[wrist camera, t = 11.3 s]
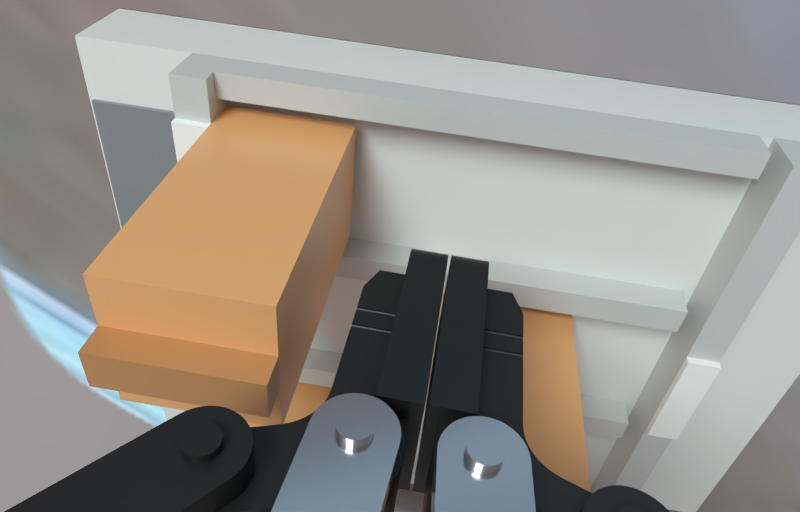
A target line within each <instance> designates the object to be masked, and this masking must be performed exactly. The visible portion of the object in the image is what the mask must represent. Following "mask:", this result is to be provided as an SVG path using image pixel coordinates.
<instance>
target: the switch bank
mask: <svg viewBox="0 0 800 512" xmlns="http://www.w3.org/2000/svg"><path fill="white" fill-rule="evenodd" d="M75 39H76V43H77V47H78V51H79V55H80V59H81V64H82V68H83V72H84V76H85V80H86V85H87V89H88V93H89V97H90V101H91V105H92V110H93V114H94V118H95V122H96V126H97V131H98V135H99V139H100V143H101V147H102V151H103V156H104V160H105V164H106V168H107V172H108V177H109V181H110V185H111V189H112V193H113V197H114V202H115V206H116V210H117V214H118V218H119V223H120V227H121V228H122V227H123V226H124V225H125V224H126V223H127V221H128V220H129V219H130V218H131V217H132V216H133V214H134V213H135V212H136V211H137V210H138V209H139V207H140V206H141V205H142V204H143V203H144V201H145V200H146V199H147V198H148V197H149V196H150V194H151V193H152V192H153V191H154V190H155V189H156V187H157V186H158V185H159V184H160V183H161V181H162V180H163V179H164V178H165V177H166V176H167V174H168V173H169V172H170V171H171V170H172V169H173V167H174V166H175V165H176V164H177V163H178V162H179V160H180V159H181V158H182V157H183V156H184V154H185V153H186V152H187V151H188V150H189V149H190V147H191V146H192V145H193V144H194V143H195V142H196V140H197V139H198V138H199V137H200V136H201V135H202V133H203V132H204V131H205V130H206V129H207V128H208V126H209V125H210V124H211V123H212V122H213V120H214V119H215V118H216V117H217V116H218V115H219V113H220V112H221V111H222V110H223V109H224V108H225V106H231V107H237V108H244V109H251V110H257V111H264V112H271V113H277V114H284V115H291V116H297V117H304V118H311V119H317V120H324V121H330V122H337V123H344V124H350V125H356V138H355V158H354V178H353V198H352V218H351V233H350V236H349V239H348V242H347V245H346V247H345V250H344V253H343V256H342V259H341V262H340V265H339V267H338V270H337V273H336V276H335V279H334V282H333V284H332V287H331V290H330V293H329V296H328V299H327V301H326V304H325V307H324V310H323V313H322V316H321V319H320V321H319V324H318V327H317V330H316V333H315V336H314V338H313V341H312V344H311V347H310V350H309V353H308V356H307V358H306V361H305V364H304V367H303V370H302V373H301V375H300V378H299V381H298V382H302V383H308V384H314V385H320V386H325V387H331V388H332V385H333V382H334V379H335V376H336V373H337V369H338V366H339V363H340V360H341V357H342V353H343V350H344V347H345V344H346V341H347V337H348V334H349V331H350V328H351V326H352V321H353V318H354V315H355V312H356V310H357V305H358V302H359V299H360V296H361V293H362V289H363V286H364V285H365V284H366V283H367V282H368V281H369V280H370V279H371V278H372V277H373V276H374V275H375V274H376V273H377V272H378V271H379V270H382V271H388V272H394V273H400V274H405V273H406V269H407V265H408V261H409V257H410V252H411V249H417V250H423V251H429V252H435V253H441V254H447V255H449V256H448V262H447V269H446V275H445V281H444V288H443V294H442V301H441V307H440V313H439V320H440V315H441V309H442V304H443V298H444V293H445V287H446V282H447V277H448V271H449V266H450V260H451V256H452V255H453V256H459V257H465V258H471V259H477V260H483V261H489V274H488V288H487V289H493V290H498V291H504V292H510V293H513V295H514V297H515V299H516V301H517V303H518V305H519V306H520V307H526V308H532V309H539V310H545V311H551V312H557V313H563V314H569V315H572V319H573V329H574V338H575V348H576V357H577V367H578V376H579V386H580V395H581V405H582V414H583V424H584V433H585V443H586V452H587V461H588V471H589V480H590V490H591V493H594V492H595V491H597V490H598V489H601V488H603V487H606V486H611V485H622V486H629V487H632V488H635V489H638V490H640V491H643V492H645V493H647V494H648V495H650V496H652V497H653V498H655V499H656V500H657V501H659V502H660V503H661V504H662V505H663V506H664V507H665V508H666V509H669V510H675V511H681V512H696V511H697V510H698V509H699V507H700V506H701V505H702V503H703V502H704V501H705V499H706V498H707V497H708V495H709V494H710V493H711V491H712V490H713V489H714V487H715V486H716V485H717V483H718V482H719V481H720V479H721V478H722V477H723V475H724V474H725V473H726V471H727V470H728V469H729V467H730V466H731V465H732V463H733V462H734V461H735V459H736V458H737V457H738V455H739V454H740V453H741V451H742V450H743V449H744V447H745V446H746V445H747V443H748V442H749V441H750V439H751V438H752V437H753V435H754V434H755V433H756V431H757V430H758V429H759V427H760V426H761V425H762V423H763V422H764V421H765V419H766V418H767V417H768V415H769V414H770V413H771V411H772V410H773V409H774V407H775V406H776V405H777V403H778V402H779V401H780V399H781V398H782V397H783V395H784V394H785V393H786V391H787V390H788V389H789V387H790V386H791V385H792V383H793V382H794V381H795V379H796V378H797V377H798V375H799V374H800V106H798V105H791V104H784V103H777V102H770V101H763V100H756V99H749V98H742V97H735V96H728V95H721V94H714V93H707V92H700V91H693V90H686V89H679V88H672V87H665V86H658V85H651V84H644V83H637V82H630V81H623V80H616V79H609V78H602V77H595V76H588V75H581V74H574V73H567V72H560V71H553V70H546V69H539V68H532V67H525V66H518V65H511V64H504V63H497V62H490V61H483V60H476V59H469V58H462V57H455V56H448V55H441V54H434V53H427V52H420V51H413V50H406V49H399V48H392V47H385V46H378V45H371V44H364V43H357V42H350V41H343V40H336V39H329V38H322V37H315V36H308V35H301V34H294V33H287V32H280V31H273V30H266V29H259V28H252V27H245V26H238V25H231V24H224V23H217V22H210V21H203V20H196V19H189V18H182V17H175V16H168V15H161V14H154V13H147V12H140V11H133V10H125V9H118V10H116V11H114V12H113V13H111V14H110V15H108V16H106V17H105V18H103V19H101V20H100V21H98V22H96V23H95V24H93V25H92V26H90V27H88V28H87V29H85V30H83V31H82V32H80V33H78V34H77V35H75ZM439 320H438V326H439ZM438 326H437V332H438ZM437 332H436V338H437ZM435 344H436V339H435ZM434 350H435V345H434ZM433 357H434V351H433ZM432 363H433V358H432ZM431 370H432V364H431ZM431 370H430V376H431ZM429 383H430V377H429ZM429 383H428V389H429ZM428 389H427V395H428ZM426 402H427V396H426ZM426 402H425V408H426ZM425 408H424V413H423V418H422V424H421V429H420V435H419V440H418V445H417V451H416V456H415V461H414V467H413V472H412V477H411V484H414V479H415V472H416V466H417V459H418V453H419V447H420V440H421V434H422V427H423V421H424V415H425ZM164 411H165V415H166V419H171V418H173V417H175V416H176V415H178V414H180V413H182V412H184V411H183V410H178V409H172V408H167V407H164Z"/></svg>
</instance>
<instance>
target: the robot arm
mask: <svg viewBox="0 0 800 512" xmlns="http://www.w3.org/2000/svg"><path fill="white" fill-rule="evenodd" d="M448 256H449V255H447V254H441V253H435V252H429V251H423V250H417V249H411V252H410V257H409V261H408V265H407V269H406V273H405V274H400V273H394V272H388V271H382V270H379V271H378V272H377V273H376V274H375V275H374V276H373V277H372V278H371V279H370V280H369V281H368V282H367V283H366V284H365V285H364V286H363V289H362V293H361V296H360V299H359V302H358V305H357V310H356V312H355V315H354V318H353V321H352V326H351V328H350V331H349V334H348V337H347V341H346V344H345V347H344V350H343V353H342V357H341V360H340V363H339V366H338V369H337V373H336V376H335V379H334V382H333V385H332V389H331V391H330V393H329V396H328V397H327V399H326V400H325V402H324V403H323V404H322V405H320V406H319V407H318V408H317V410H316V411H314V412H313V413H311V414H310V415H308V416H306V417H304V418H302V419H300V420H297V421H294V422H290V423H285V424H277V425H268V426H258V427H250V426H249V424H248V423H247V421H246V420H245V419H244V418H243V417H242V416H241V415H240V414H238V413H237V412H235V411H233V410H231V409H228V408H225V407H221V406H201V407H196V408H193V409H189V410H187V411H184V412H182V413H180V414H178V415H176V416H175V417H173V418H171V419H169V420H168V421H166V422H164V423H162V424H160V425H159V426H157V427H155V428H153V429H151V430H150V431H148V432H146V433H145V434H143V435H141V436H139V437H137V438H136V439H134V440H132V441H130V442H128V443H126V444H125V445H123V446H121V447H119V448H117V449H116V450H114V451H112V452H110V453H109V454H107V455H105V456H103V457H102V458H100V459H98V460H96V461H94V462H92V463H91V464H89V465H87V466H85V467H84V468H82V469H80V470H78V471H76V472H75V473H73V474H71V475H69V476H68V477H66V478H64V479H62V480H60V481H58V482H57V483H55V484H53V485H51V486H50V487H48V488H46V489H44V490H43V491H41V492H39V493H37V494H35V495H33V496H32V497H30V498H28V499H26V500H25V501H23V502H21V503H19V504H17V505H16V506H14V507H12V508H10V509H8V510H7V511H5V512H394V507H395V501H396V496H397V490H398V488H400V489H405V490H409V488H410V483H411V477H412V472H413V467H414V461H415V456H416V451H417V445H418V440H419V435H420V429H421V424H422V418H423V413H424V408H425V402H426V396H427V402H426V408H425V415H424V421H423V427H422V434H421V440H420V447H419V453H418V459H417V466H416V472H415V479H414V485H413V491H417V492H422V493H425V495H424V502H423V509H422V512H669V511H668V510H667V509H666V508H665V507H664V506H663V505H662V504H661V503H660V502H659V501H657V500H656V499H655V498H653V497H652V496H650V495H648V494H647V493H645V492H643V491H640V490H638V489H635V488H632V487H629V486H622V485H611V486H606V487H603V488H601V489H598V490H597V491H595V492H594V493H591V492H589V491H587V490H585V489H583V488H581V487H579V486H577V485H575V484H573V483H571V482H569V481H567V480H565V479H563V478H561V477H560V476H558V475H556V474H555V473H553V472H552V471H550V470H549V469H548V468H546V467H545V466H544V465H543V464H542V463H541V462H540V461H539V460H538V459H537V457H536V456H535V455H534V454H533V452H532V451H531V449H530V447H529V445H528V443H527V441H526V438H525V435H524V429H523V312H522V310H521V308H520V306H519V305H518V303H517V301H516V299H515V297H514V295H513V293H510V292H504V291H498V290H493V289H487V288H488V274H489V261H483V260H477V259H471V258H465V257H459V256H453V255H452V256H451V260H450V266H449V271H448V277H447V282H446V287H445V293H444V298H443V304H442V309H441V315H440V320H439V313H440V307H441V301H442V294H443V288H444V281H445V275H446V269H447V262H448ZM438 320H439V326H438ZM437 326H438V332H437ZM436 332H437V338H436ZM435 339H436V344H435ZM434 345H435V350H434ZM433 351H434V357H433ZM432 358H433V363H432ZM431 364H432V370H431ZM430 370H431V376H430ZM429 377H430V383H429ZM428 383H429V389H428ZM427 389H428V395H427Z"/></svg>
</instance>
